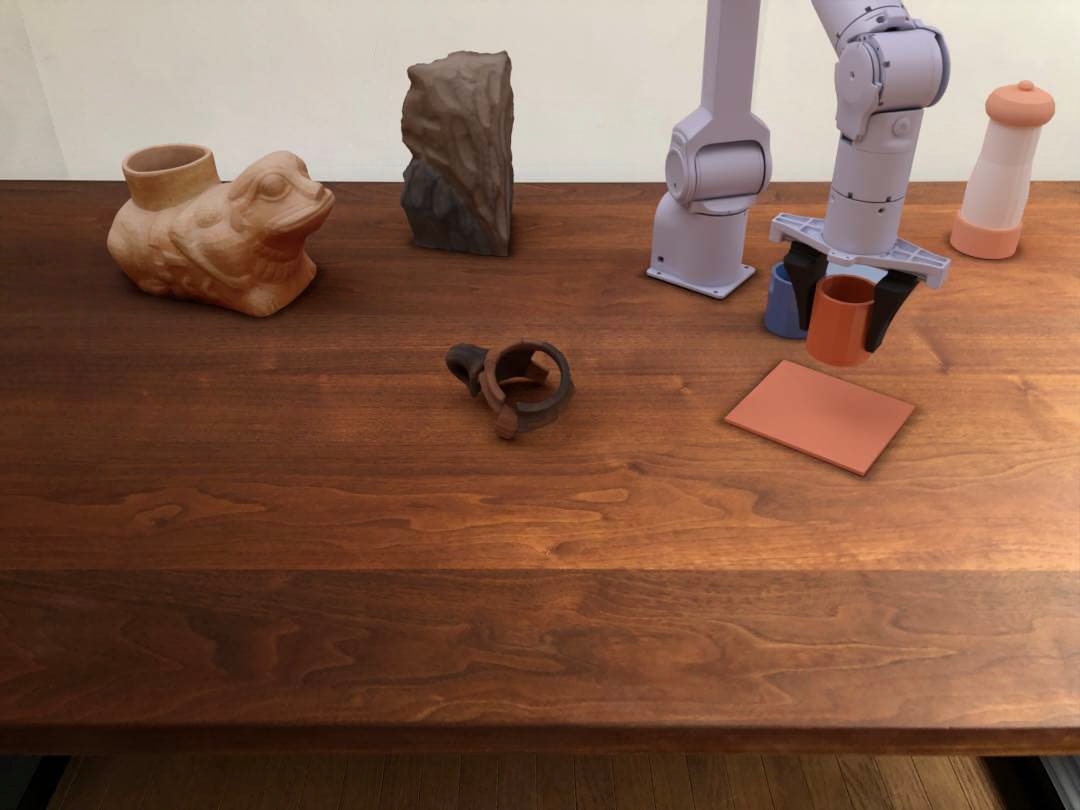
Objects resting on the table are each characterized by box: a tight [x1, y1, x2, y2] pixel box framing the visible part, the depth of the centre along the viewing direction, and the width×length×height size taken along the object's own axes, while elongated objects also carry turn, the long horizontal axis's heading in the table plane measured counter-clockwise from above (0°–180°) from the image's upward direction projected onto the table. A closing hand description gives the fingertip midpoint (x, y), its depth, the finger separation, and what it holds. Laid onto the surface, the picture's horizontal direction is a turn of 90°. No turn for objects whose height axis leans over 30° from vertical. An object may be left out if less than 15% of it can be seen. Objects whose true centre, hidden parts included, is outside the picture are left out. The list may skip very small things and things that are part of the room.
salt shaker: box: [949, 79, 1056, 260], centre depth 117 cm, size 7×7×19 cm
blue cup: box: [763, 261, 828, 340], centre depth 106 cm, size 5×5×6 cm
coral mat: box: [723, 359, 916, 477], centre depth 95 cm, size 13×12×1 cm
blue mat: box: [826, 262, 888, 284], centre depth 118 cm, size 13×11×1 cm
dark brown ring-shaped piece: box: [444, 336, 577, 440], centre depth 94 cm, size 12×10×8 cm
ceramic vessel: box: [106, 142, 336, 318], centre depth 110 cm, size 14×26×15 cm, turn 71°
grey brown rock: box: [399, 49, 515, 257], centre depth 120 cm, size 13×13×20 cm
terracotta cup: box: [805, 274, 876, 368], centre depth 90 cm, size 5×5×6 cm
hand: (839, 336), depth 91 cm, fingers closed on terracotta cup, 5 cm apart
